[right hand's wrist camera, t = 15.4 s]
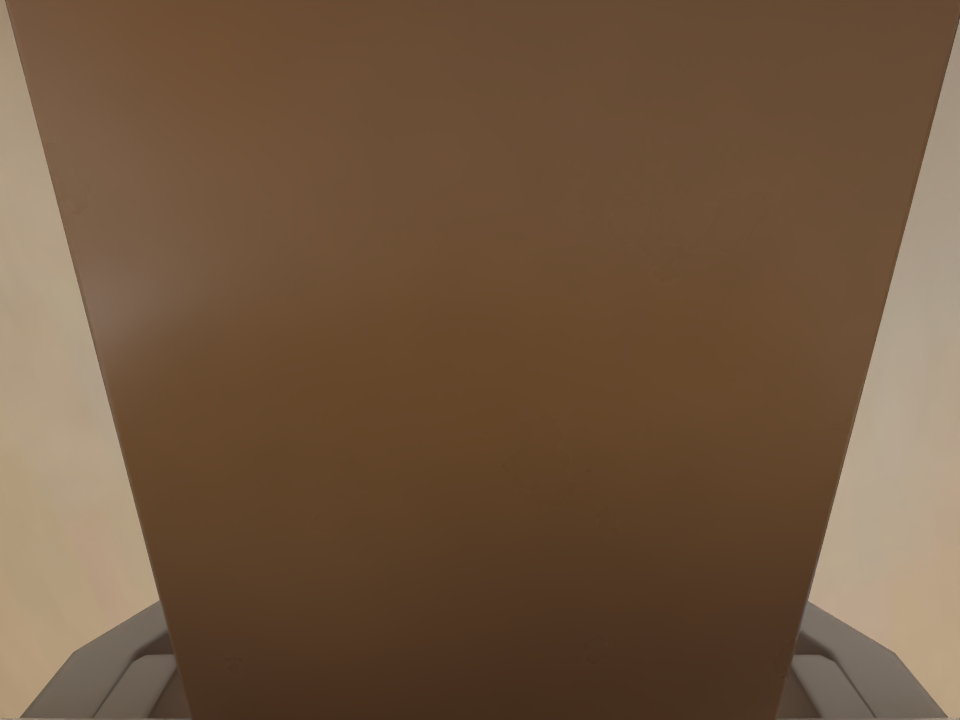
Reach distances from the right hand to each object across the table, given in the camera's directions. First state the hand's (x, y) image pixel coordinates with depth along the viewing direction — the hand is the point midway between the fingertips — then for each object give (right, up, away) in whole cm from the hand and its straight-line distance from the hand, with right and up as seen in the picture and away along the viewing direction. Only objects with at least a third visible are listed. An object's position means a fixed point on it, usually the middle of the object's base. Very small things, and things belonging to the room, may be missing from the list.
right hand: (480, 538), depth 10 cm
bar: (0, +9, 0) cm, 9 cm away
